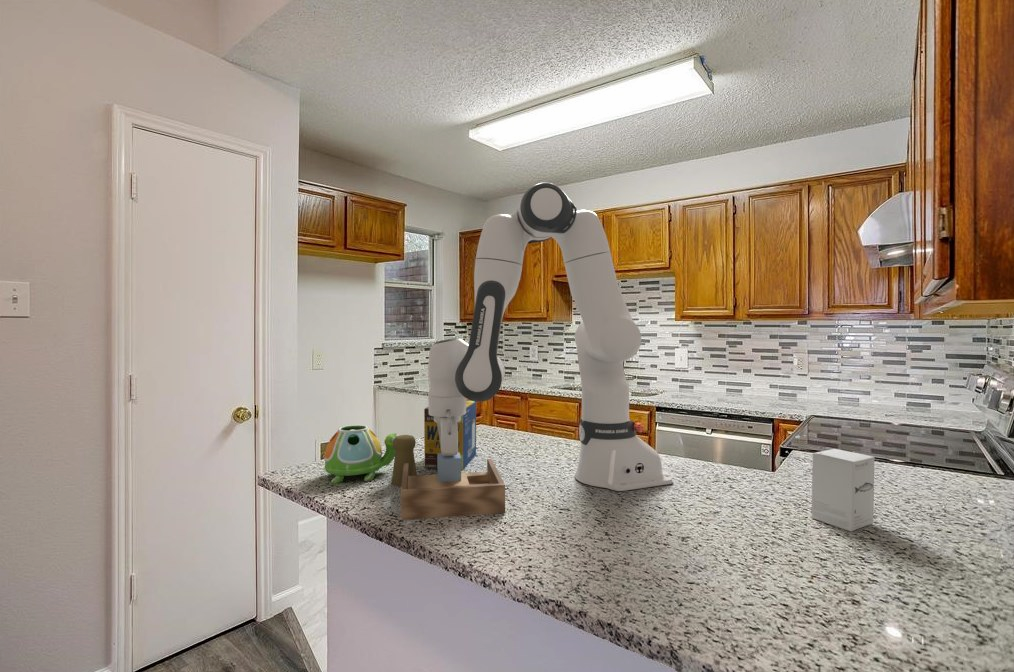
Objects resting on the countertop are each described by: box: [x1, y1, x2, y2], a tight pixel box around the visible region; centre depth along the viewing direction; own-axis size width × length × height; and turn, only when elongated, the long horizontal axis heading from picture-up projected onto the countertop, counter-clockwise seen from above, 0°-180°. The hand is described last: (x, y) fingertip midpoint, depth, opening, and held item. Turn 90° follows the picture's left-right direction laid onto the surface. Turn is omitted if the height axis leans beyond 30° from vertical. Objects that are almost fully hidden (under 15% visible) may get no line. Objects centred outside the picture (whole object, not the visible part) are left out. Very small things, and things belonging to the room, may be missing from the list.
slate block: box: [437, 452, 462, 482], centre depth 110 cm, size 5×5×5 cm
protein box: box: [423, 400, 477, 471], centre depth 133 cm, size 10×15×16 cm
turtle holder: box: [323, 424, 399, 484], centre depth 121 cm, size 12×18×12 cm
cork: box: [391, 434, 418, 488], centre depth 115 cm, size 6×6×11 cm
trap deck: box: [400, 458, 506, 521], centre depth 104 cm, size 20×19×6 cm
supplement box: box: [811, 448, 876, 532], centre depth 91 cm, size 7×7×13 cm
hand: (447, 464), depth 117 cm, fingers closed
